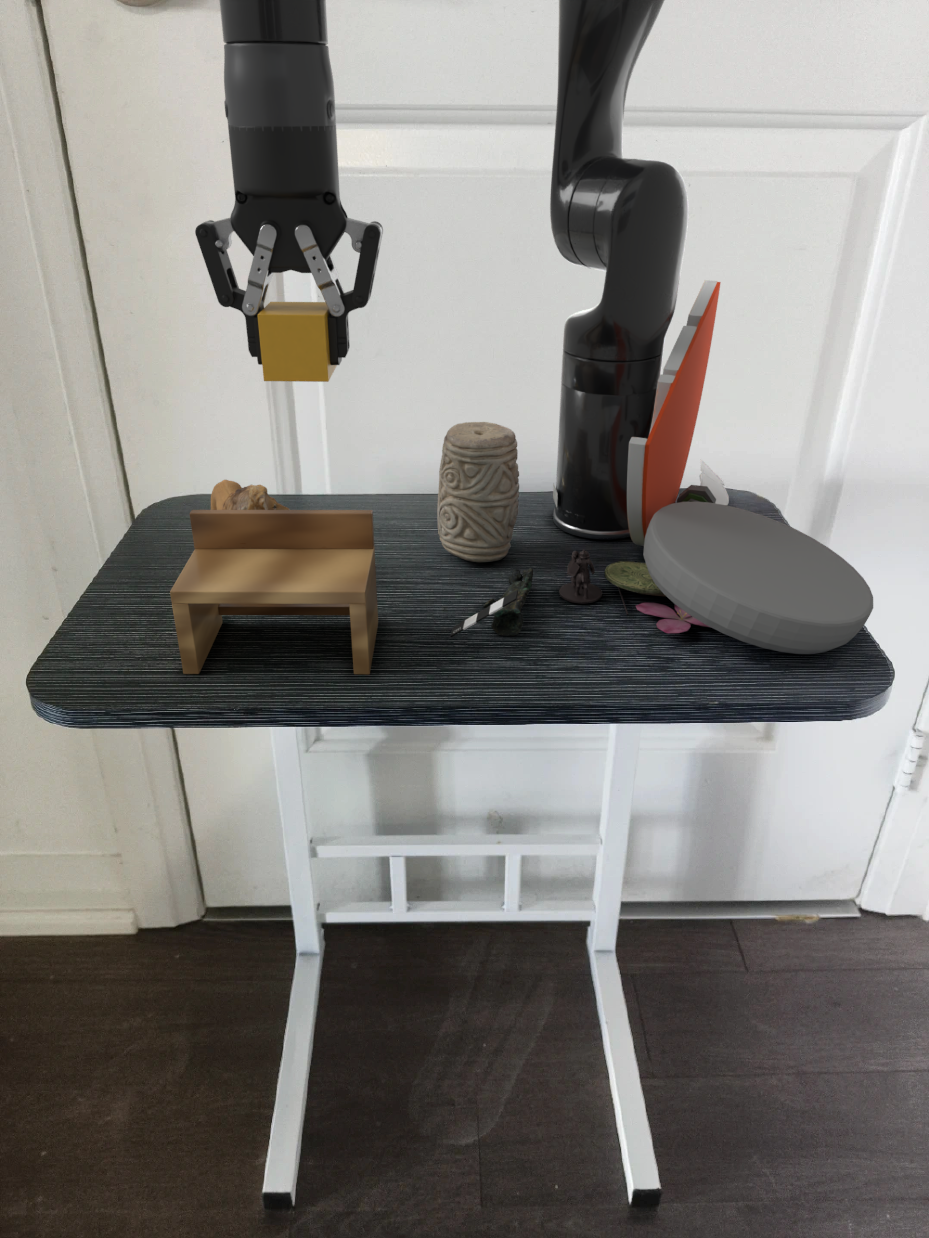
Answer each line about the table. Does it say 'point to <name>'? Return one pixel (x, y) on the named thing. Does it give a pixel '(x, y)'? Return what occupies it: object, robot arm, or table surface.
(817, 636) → the decorative stone
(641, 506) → the wall plaque
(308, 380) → the block
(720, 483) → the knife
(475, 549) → the carving
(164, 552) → the table surface
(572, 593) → the figurine
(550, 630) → the table surface
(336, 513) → the bench
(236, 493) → the lion figurine
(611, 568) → the medallion
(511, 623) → the figurine
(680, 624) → the flower
